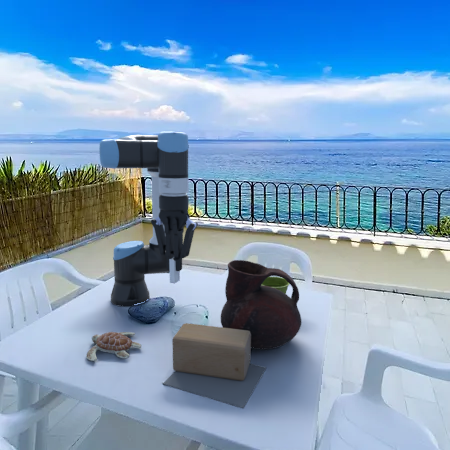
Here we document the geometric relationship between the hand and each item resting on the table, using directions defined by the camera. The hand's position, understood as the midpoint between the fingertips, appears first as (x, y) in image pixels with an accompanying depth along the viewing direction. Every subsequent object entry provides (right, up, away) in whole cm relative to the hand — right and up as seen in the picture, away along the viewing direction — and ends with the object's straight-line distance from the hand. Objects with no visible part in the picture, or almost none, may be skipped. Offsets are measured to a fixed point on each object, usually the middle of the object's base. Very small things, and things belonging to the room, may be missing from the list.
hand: (174, 281), depth 99 cm
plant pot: (+32, -17, +42) cm, 55 cm away
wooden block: (0, -19, +4) cm, 19 cm away
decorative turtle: (-20, -23, +13) cm, 33 cm away
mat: (+11, -25, -1) cm, 27 cm away
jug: (+24, -22, +18) cm, 38 cm away
